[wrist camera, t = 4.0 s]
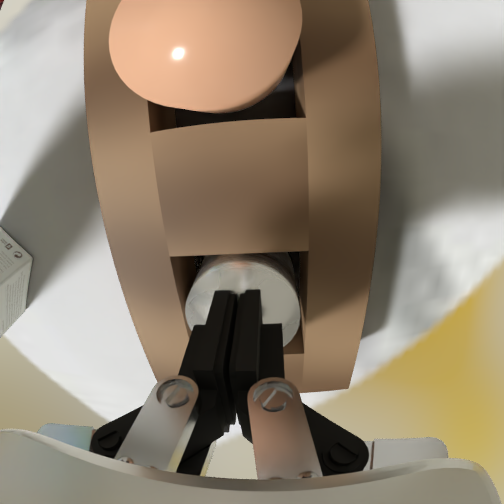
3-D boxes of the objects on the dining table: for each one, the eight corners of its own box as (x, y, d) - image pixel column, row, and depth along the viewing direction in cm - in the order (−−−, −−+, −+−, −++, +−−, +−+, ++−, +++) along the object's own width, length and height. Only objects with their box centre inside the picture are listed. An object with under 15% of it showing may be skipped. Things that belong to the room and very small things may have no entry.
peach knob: (156, 11, 7) (112, -25, 4) (284, -6, 6) (291, -56, 3) (161, 122, 9) (113, 124, 6) (294, 109, 8) (310, 101, 5)
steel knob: (195, 234, 13) (174, 270, 10) (293, 229, 13) (301, 265, 10) (208, 312, 15) (196, 358, 12) (293, 310, 15) (298, 357, 12)
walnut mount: (135, -103, 4) (117, -124, 1) (306, -124, 3) (311, -150, 1) (173, 353, 17) (161, 389, 14) (338, 350, 16) (348, 388, 13)
